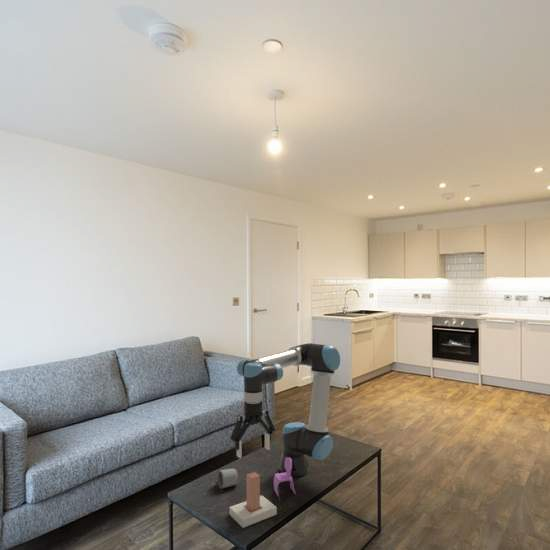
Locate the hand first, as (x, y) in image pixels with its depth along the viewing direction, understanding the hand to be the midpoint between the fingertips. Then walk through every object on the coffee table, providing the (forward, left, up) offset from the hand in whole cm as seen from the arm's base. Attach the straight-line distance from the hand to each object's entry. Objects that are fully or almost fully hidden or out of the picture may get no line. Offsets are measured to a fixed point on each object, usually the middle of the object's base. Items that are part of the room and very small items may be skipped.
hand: (253, 452), depth 164 cm
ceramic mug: (-2, -28, -25) cm, 38 cm away
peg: (0, 0, -25) cm, 25 cm away
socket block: (0, 0, -25) cm, 25 cm away
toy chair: (-21, -7, -25) cm, 33 cm away
